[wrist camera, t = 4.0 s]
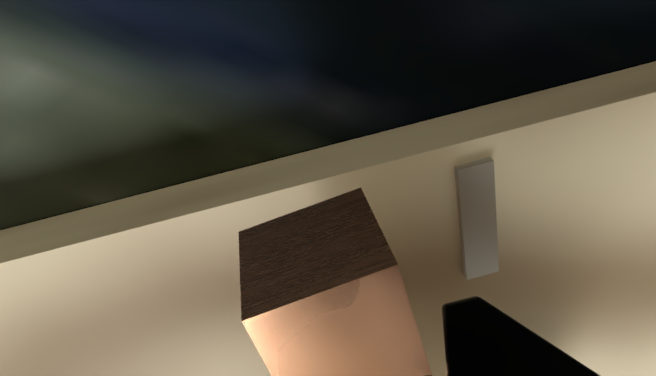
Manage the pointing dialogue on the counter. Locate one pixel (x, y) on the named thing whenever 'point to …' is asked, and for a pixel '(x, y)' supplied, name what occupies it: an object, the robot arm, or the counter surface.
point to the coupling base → (397, 226)
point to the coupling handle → (328, 294)
